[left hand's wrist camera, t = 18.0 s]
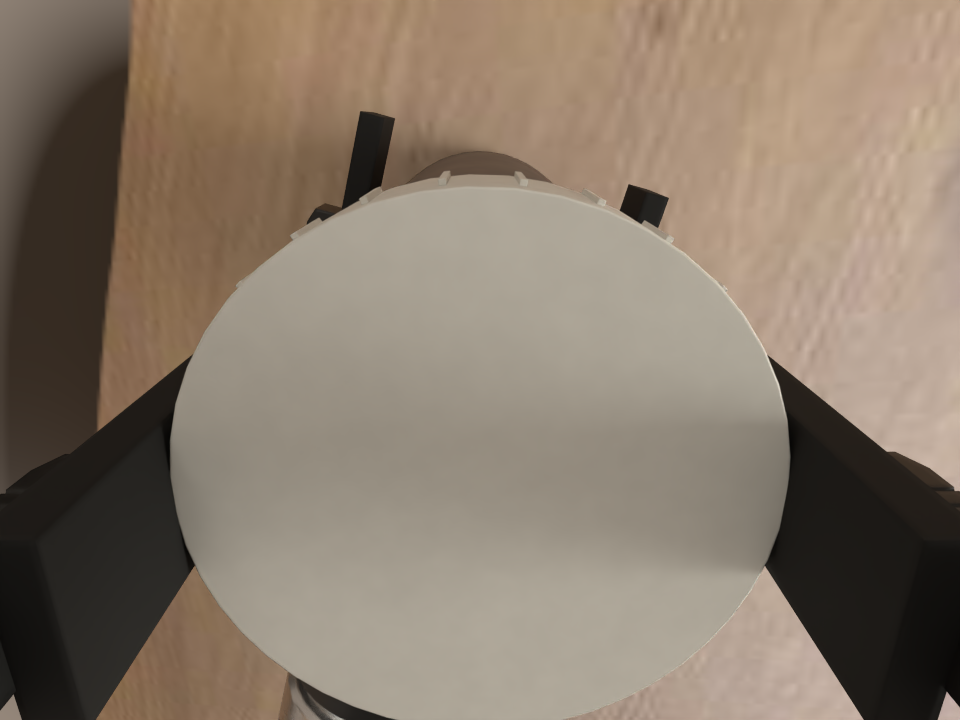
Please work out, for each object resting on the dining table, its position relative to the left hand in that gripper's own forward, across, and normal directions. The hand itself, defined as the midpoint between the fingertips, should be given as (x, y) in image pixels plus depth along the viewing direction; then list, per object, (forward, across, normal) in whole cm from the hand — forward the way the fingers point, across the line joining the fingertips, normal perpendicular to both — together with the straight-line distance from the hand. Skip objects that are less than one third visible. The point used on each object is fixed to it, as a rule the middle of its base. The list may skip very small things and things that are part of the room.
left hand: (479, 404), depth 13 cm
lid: (-3, 0, 0) cm, 3 cm away
